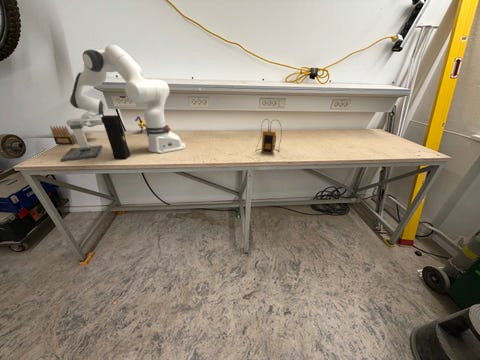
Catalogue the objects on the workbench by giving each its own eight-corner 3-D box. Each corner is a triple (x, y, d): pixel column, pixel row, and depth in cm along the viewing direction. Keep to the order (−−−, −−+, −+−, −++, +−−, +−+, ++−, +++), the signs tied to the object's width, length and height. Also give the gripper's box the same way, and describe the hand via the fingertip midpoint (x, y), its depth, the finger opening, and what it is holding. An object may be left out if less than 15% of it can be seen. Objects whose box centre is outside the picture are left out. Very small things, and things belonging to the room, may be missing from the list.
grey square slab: (102, 147, 124) (102, 145, 123) (96, 157, 109) (95, 155, 109) (72, 150, 119) (71, 148, 118) (61, 161, 104) (60, 159, 103)
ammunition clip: (74, 143, 130) (67, 125, 124) (72, 144, 128) (65, 126, 123) (58, 143, 130) (50, 125, 124) (56, 144, 128) (47, 126, 122)
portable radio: (133, 155, 113) (120, 110, 101) (128, 159, 108) (114, 112, 96) (119, 155, 113) (105, 110, 101) (113, 159, 108) (98, 112, 96)
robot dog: (135, 135, 147) (130, 117, 140) (147, 129, 162) (143, 113, 156) (142, 136, 146) (138, 117, 140) (153, 130, 162) (150, 113, 156)
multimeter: (279, 148, 126) (283, 116, 117) (279, 154, 118) (283, 120, 108) (257, 146, 129) (259, 115, 119) (255, 152, 120) (257, 118, 111)
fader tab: (90, 146, 120) (82, 123, 113) (89, 148, 116) (80, 125, 110) (81, 147, 118) (71, 124, 111) (79, 149, 115) (69, 125, 108)
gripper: (68, 116, 128) (60, 120, 117) (104, 114, 135) (100, 118, 123) (72, 125, 131) (65, 131, 120) (107, 123, 138) (103, 128, 127)
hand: (83, 124), depth 122 cm, fingers closed
